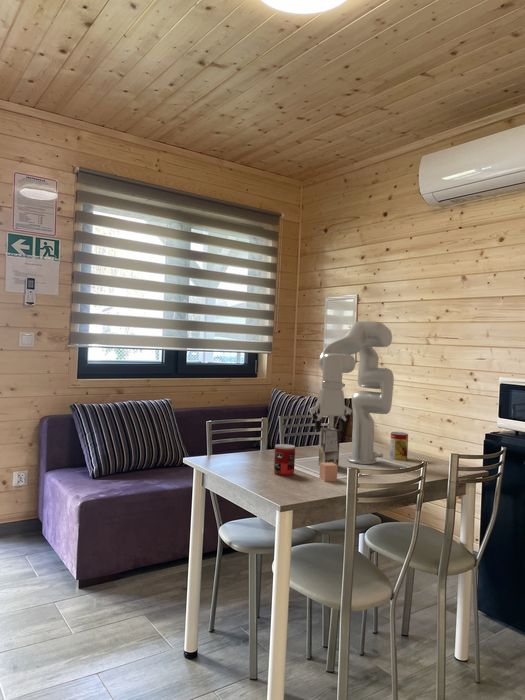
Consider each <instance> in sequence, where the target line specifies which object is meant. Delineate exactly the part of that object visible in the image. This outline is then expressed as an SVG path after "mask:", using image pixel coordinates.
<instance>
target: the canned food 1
mask: <svg viewBox="0 0 525 700" xmlns="http://www.w3.org/2000/svg"><path fill="white" fill-rule="evenodd" d="M295 457H296V445H293V444H286V443H277V444H275V445H274V460H273V462H274V463H273V473H274V474H275V475H276V476H281V477H290V476H293V475H294V474H295V463H296V462H295V461H296V460H295V459H296V458H295Z"/></svg>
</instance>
